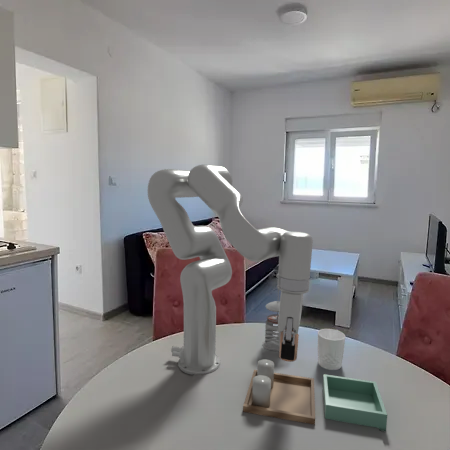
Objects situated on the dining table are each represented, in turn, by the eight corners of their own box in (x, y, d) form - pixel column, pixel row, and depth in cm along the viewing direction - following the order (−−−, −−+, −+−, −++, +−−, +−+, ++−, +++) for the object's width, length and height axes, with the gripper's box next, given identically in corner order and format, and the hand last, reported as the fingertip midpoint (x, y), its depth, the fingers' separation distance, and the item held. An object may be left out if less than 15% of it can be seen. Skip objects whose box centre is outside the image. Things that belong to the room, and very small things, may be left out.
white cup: (345, 374, 97) (347, 341, 95) (316, 371, 98) (318, 338, 97) (341, 360, 104) (343, 330, 103) (315, 357, 106) (316, 327, 105)
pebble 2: (250, 407, 80) (251, 383, 80) (253, 396, 85) (254, 374, 84) (269, 410, 79) (269, 386, 79) (271, 399, 84) (271, 376, 83)
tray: (242, 413, 79) (243, 406, 79) (253, 376, 95) (254, 369, 95) (314, 427, 75) (315, 418, 75) (313, 385, 91) (314, 378, 91)
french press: (274, 336, 120) (276, 268, 117) (301, 348, 112) (304, 275, 109) (255, 344, 114) (258, 273, 111) (283, 358, 105) (286, 280, 102)
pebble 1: (255, 388, 88) (256, 366, 88) (258, 378, 92) (258, 358, 92) (272, 390, 87) (273, 369, 86) (274, 381, 91) (275, 360, 91)
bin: (324, 420, 77) (325, 404, 77) (322, 388, 90) (323, 374, 89) (386, 431, 74) (387, 414, 74) (374, 396, 87) (375, 381, 86)
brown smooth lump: (278, 359, 82) (279, 336, 81) (279, 351, 86) (281, 329, 85) (296, 362, 81) (298, 339, 80) (297, 354, 85) (298, 331, 84)
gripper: (280, 272, 90) (276, 336, 92) (274, 292, 74) (269, 369, 76) (309, 275, 88) (303, 341, 91) (309, 296, 72) (302, 375, 75)
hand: (288, 353), depth 83 cm, fingers closed on brown smooth lump, 4 cm apart
